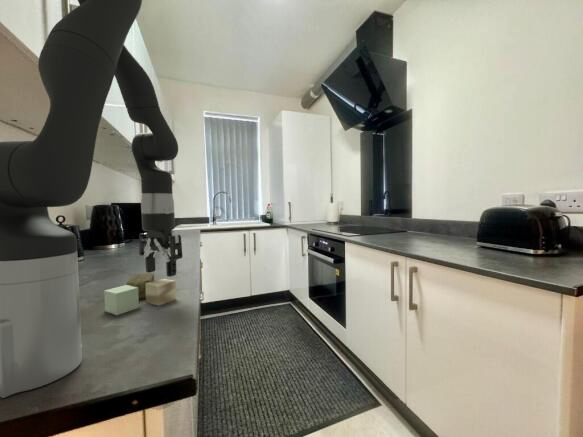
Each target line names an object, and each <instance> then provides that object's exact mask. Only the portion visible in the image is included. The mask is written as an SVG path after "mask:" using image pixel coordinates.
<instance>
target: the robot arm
mask: <svg viewBox="0 0 583 437" xmlns="http://www.w3.org/2000/svg"><path fill="white" fill-rule="evenodd" d="M77 2H78V4H79V6H77V7H75V8H74V9H73V10H71V11H70V12H68V13H67V14H66V15H64V17H62V18H61V19H60V20H58V22H56V24H54V26H53V27H52V29H51V30H50V32H49V34H48V35H47V38H46V41H45V43H44V44H43V47H42V49H41V50H40V53H39V57H38V61H37V62H38V65H37V67H38V73H39V76H40V79H41V82H42V84H43V87H44V89H45V92H46V94H47V97H48V98H49V99H48V100H49V110H48V114H47V116H46V119H45V121H44V125H43V127H42V129H41V131H40V132H39V134H38V135H37V136H36V137H35V139H33V140H17V141H12V140H11V141H0V398H1V399H4V398H8V397H9V396H12V395H14V394H17V393H22V392H26V391H30V390H33V389H37V388H41V387H43V386H46V385H48V384H51V383H53V382H56V381H57V380H60V379H61V378H63V377H65V376H67V375H69V374H70V373H71V372H73V371H74V370H76V369H77V368H78V367H79V365H81V363H82V361H83V353H82V352H83V351H82V350H83V345H82V330H81V329H82V328H81V327H82V326H81V306H80V305H81V304H80V284H79V280H80V279H79V260H78V258H79V257H78V240H77V236H76V235H75V233H74V232H72V231H69V230H67V229H65V228H62V227H60V226H58V225H57V224H56V223H55V222H53V220H52V219H51V218H50V214H49V210H48V208H58V207H60V208H61V207H66V206H70V205H72V204H74V203H77V201H79V200H80V199H81V198H82V197H83V195H84V193H85V192H86V190H87V188H88V185H89V182H90V179H91V173H92V167H93V162H94V154H95V149H96V144H97V143H96V142H97V136H98V132H99V126H100V122H101V119H102V116H103V115H102V114H103V112H104V107H105V104H106V101H107V98H108V95H109V93H110V90H111V87H112V84H113V80H114V77H115V80H116V82H117V85H118V87H119V90H120V91H119V92H120V94H121V97H122V100H123V103H124V105H125V108H126V112H127V114H128V117H129V118H130V120H131V121H132V122H133V123H137V124H142V125H145V126H147V128H148V129H149V131H150V132H140V133H139V132H138V133H137V134H135V136H133V138H132V142H131V152H132V154H133V158H134V161H135V165H136V167H137V170H138V172H139V175H140V180H141V181H140V185H141V186H140V187H141V200H140V211H141V229H142V230H143V231H144V233H143V232H142V233H139V234H138V243H139V244H138V245H139V246H138V247H139V248H138V250H139V251H138V252H139V254H138V255H139V256H143V258H144V259H145V271H146V273H154V272H155V271H156V254H157V252H159V253H160V254H161V255H162V256H164V258H165V261H166V262H165V265H166V266H165V267H166V268H165V269H166V277H169V278H170V277H174V276H176V275H177V261H178V260H181V259H182V258H183V246H182V235H180V234H176V235H175V234H174V235H173V233H172V231H173V230H174V229H175V228H176V221H175V216H176V215H175V201H174V196H173V177H172V176H173V175H172V174H171V172H169V171H167V170H163V169H162V170H161V169H159V168H158V167H157V164H156V162H168V161H172V160H174V159H175V158H176V157H177V156H178V154H179V143H178V141H177V140H178V139H177V138H176V137H175V136H176V135H175V134H174V133H173V131H172V130H171V128H170V126H169V124H168V122H167V120H166V118H165V117H164V114H163V113H162V111H161V108H160V104H159V100H158V97H157V94H156V90H155V87H154V84H153V82H152V80H151V78H150V76H149V74H148V73H147V72H146V70H145V69H144V67H143V66H141V64H140V62H138V61H137V59H136V58H135V57H134V55H132V53H131V52H130V51H129V50H128V48H127V46H126V45H125V42H126V39H127V38H128V37H127V36H128V34H129V33H130V30H131V28H132V26H133V25H134V22H135V21H136V18H137V17H138V15H139V13H140V10H141V7H142V6H143V5H142V4H143V0H77ZM176 251H177V253H176Z"/></svg>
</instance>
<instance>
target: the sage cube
mask: <svg viewBox="0 0 583 437" xmlns="http://www.w3.org/2000/svg"><path fill="white" fill-rule="evenodd" d="M103 293H104V312H106V313H109V314H112V315H115V316H119V315H122V314H125V313H127V312H131V311H133V310H136V309H139V307H140V306H139V304H140V303H139V302H140V301H139V300H140V299H139V296H138V287H133V286H129V285H126V284H124V285H121V286H117V287H113V288H109V289H106V290H104V291H103Z"/></svg>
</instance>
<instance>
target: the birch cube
mask: <svg viewBox="0 0 583 437" xmlns="http://www.w3.org/2000/svg"><path fill="white" fill-rule="evenodd" d="M145 286H146V298H145V302H146V303H147V304H151V305H154V306H157V307H159V306H162V305H164V304H167V303H169V302H173V301H176V300H177V291H176V280H172V279H167V278H160V279H157V280H154V281H152V282H149V283H145Z"/></svg>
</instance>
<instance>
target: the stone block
mask: <svg viewBox="0 0 583 437" xmlns="http://www.w3.org/2000/svg"><path fill="white" fill-rule="evenodd" d="M152 281H155V274H154V272H150V273H148V272H146V273H134V274H133V275H132V276H131V277H130V278H129V279H128V280H127V282H126V284H125V285H129V286H133V287H138V296H139V300H140V299H142V300H143V299H146V286H145V283H149V282H152Z"/></svg>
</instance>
